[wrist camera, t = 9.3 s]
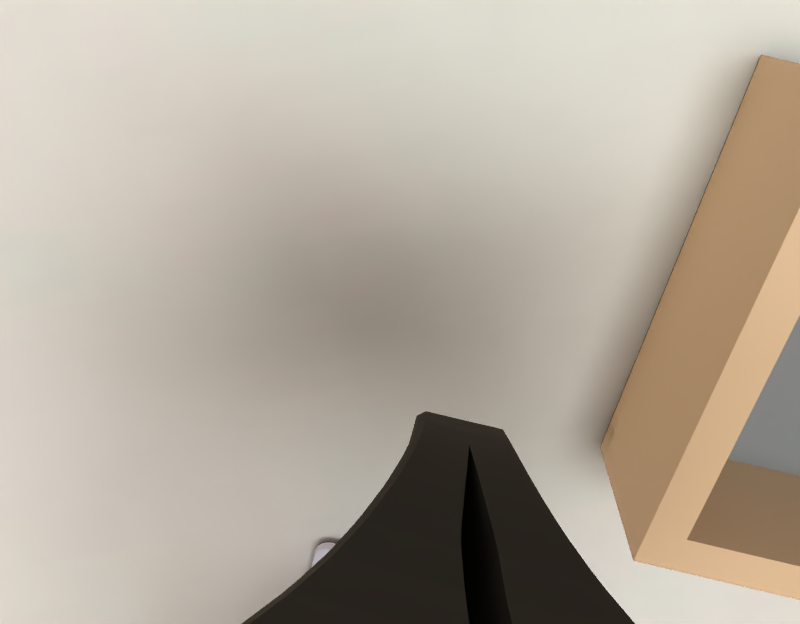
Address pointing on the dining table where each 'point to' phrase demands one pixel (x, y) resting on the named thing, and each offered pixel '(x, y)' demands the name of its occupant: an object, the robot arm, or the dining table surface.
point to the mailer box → (724, 369)
